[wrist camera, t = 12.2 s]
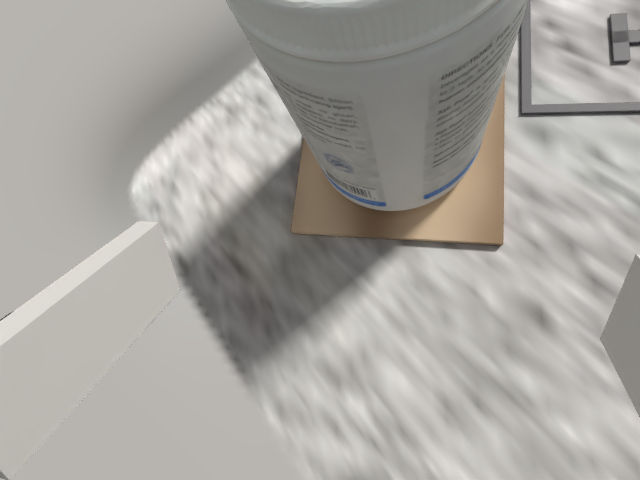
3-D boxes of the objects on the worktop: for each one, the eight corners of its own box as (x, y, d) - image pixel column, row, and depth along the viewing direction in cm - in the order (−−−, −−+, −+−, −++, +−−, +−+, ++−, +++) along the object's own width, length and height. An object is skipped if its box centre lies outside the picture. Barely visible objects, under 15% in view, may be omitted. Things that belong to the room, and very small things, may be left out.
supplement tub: (453, 56, 24) (514, -349, 10) (500, 193, 21) (679, -98, 7) (305, 100, 25) (178, -191, 11) (331, 233, 22) (204, 63, 9)
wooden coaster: (503, 56, 23) (504, 52, 23) (501, 245, 21) (503, 243, 20) (315, 67, 26) (314, 63, 26) (292, 233, 23) (290, 231, 23)
